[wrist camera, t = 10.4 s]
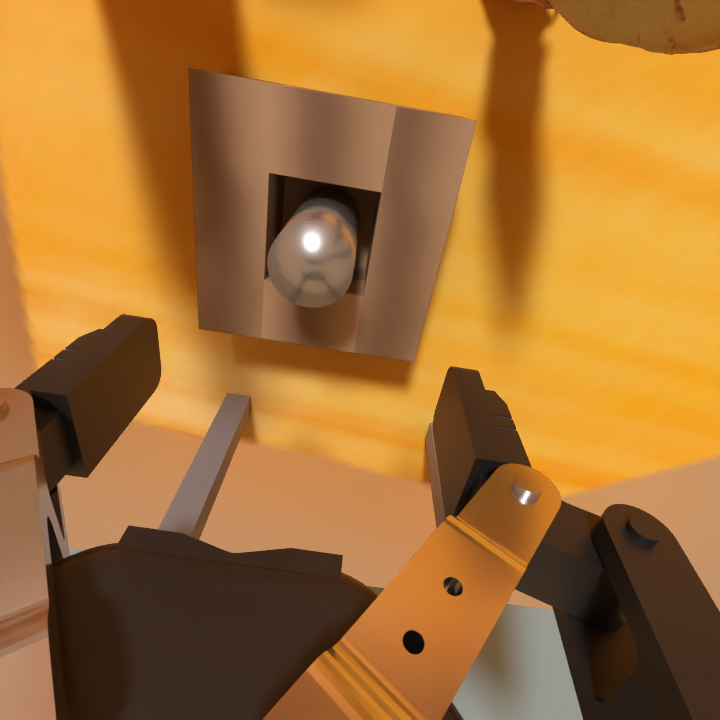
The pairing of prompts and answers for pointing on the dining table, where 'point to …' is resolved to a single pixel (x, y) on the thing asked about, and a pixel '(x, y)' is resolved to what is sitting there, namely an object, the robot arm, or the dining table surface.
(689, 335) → the dining table surface
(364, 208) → the socket block
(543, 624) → the small grey stool
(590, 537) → the robot arm
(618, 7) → the crab claw
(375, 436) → the dining table surface
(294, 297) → the peg
